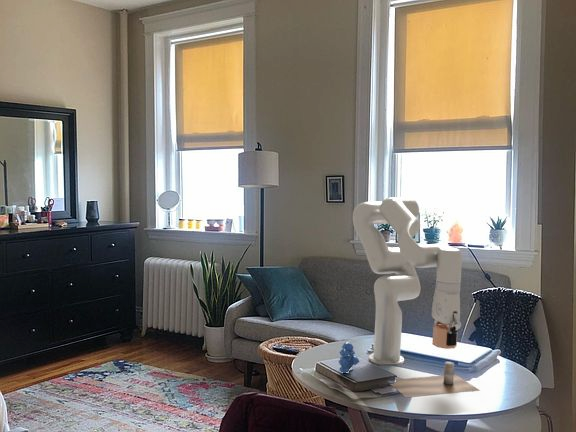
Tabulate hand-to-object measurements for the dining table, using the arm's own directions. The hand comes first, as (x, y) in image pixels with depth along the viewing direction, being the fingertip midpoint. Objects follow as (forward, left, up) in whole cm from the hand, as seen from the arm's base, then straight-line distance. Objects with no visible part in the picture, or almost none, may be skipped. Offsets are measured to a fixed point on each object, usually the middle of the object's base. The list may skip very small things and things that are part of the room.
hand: (444, 341), depth 187 cm
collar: (0, 0, -1) cm, 1 cm away
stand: (0, -4, -16) cm, 16 cm away
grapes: (-16, -26, -16) cm, 34 cm away
